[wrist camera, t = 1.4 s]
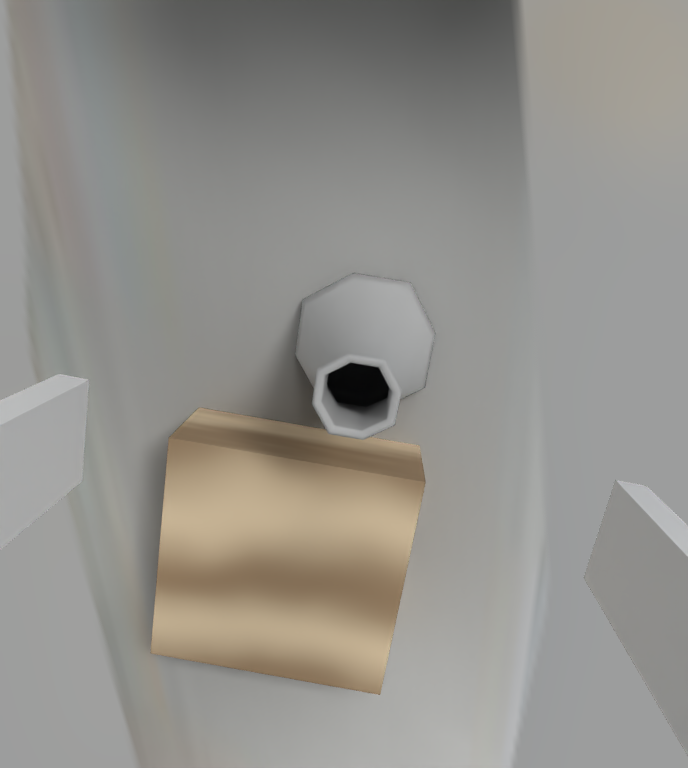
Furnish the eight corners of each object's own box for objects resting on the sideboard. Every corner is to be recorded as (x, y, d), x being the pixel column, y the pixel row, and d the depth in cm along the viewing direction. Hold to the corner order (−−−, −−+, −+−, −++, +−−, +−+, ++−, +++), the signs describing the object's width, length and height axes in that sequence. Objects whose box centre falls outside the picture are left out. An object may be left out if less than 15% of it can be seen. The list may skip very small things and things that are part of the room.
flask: (282, 283, 30) (235, 312, 20) (426, 260, 29) (447, 278, 20) (308, 418, 32) (275, 503, 22) (443, 400, 31) (471, 479, 21)
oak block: (200, 405, 32) (168, 437, 27) (419, 443, 32) (425, 482, 27) (182, 594, 35) (150, 653, 31) (380, 630, 35) (380, 694, 30)
